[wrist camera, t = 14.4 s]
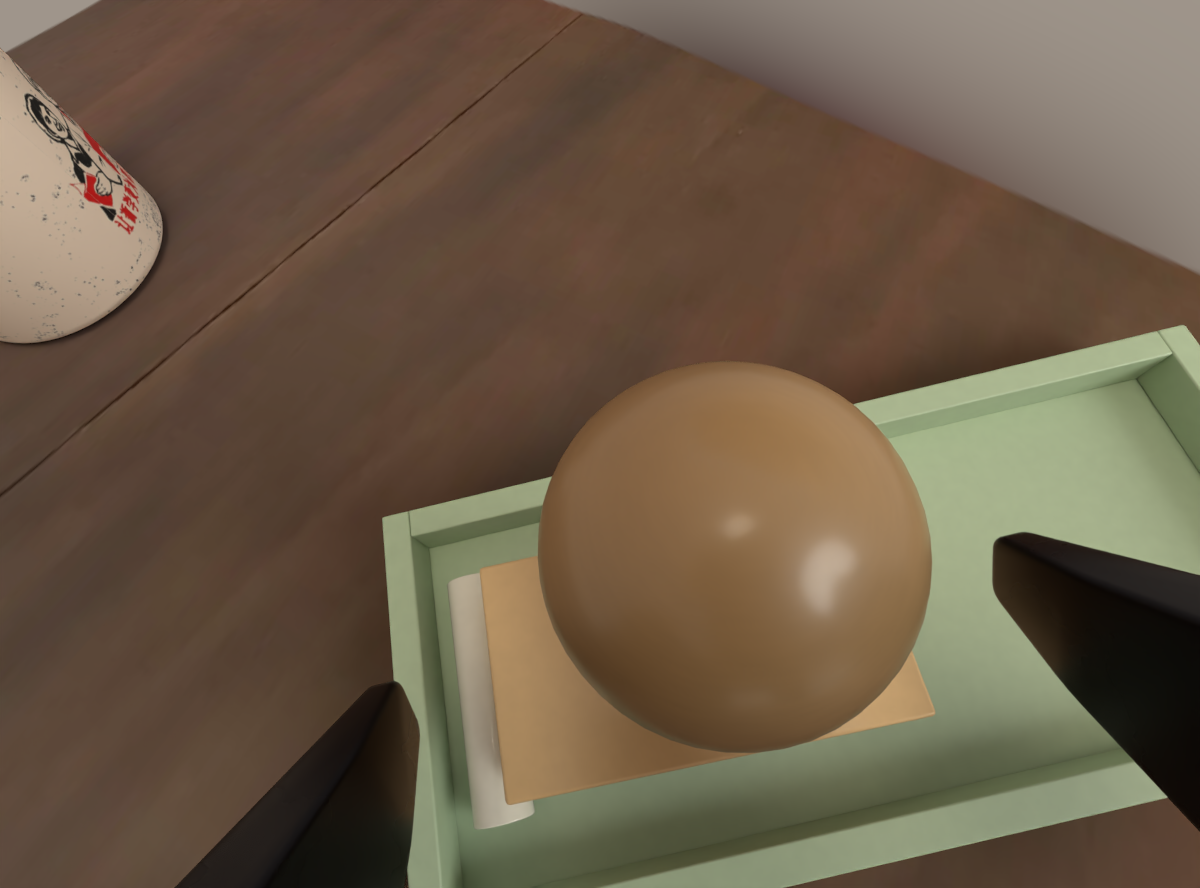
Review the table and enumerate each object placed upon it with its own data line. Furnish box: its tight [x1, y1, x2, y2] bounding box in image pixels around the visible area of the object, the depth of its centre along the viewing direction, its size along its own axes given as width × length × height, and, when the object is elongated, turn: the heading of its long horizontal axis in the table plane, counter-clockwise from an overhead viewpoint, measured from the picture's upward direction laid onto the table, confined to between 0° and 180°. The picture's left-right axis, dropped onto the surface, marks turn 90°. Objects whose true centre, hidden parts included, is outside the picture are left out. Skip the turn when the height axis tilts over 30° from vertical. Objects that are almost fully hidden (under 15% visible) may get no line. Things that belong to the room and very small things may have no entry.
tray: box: [382, 325, 1200, 888], centre depth 16 cm, size 24×11×2 cm, turn 103°
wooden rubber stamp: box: [480, 361, 935, 805], centre depth 10 cm, size 9×5×14 cm, turn 101°
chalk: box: [447, 573, 535, 830], centre depth 16 cm, size 6×2×2 cm
